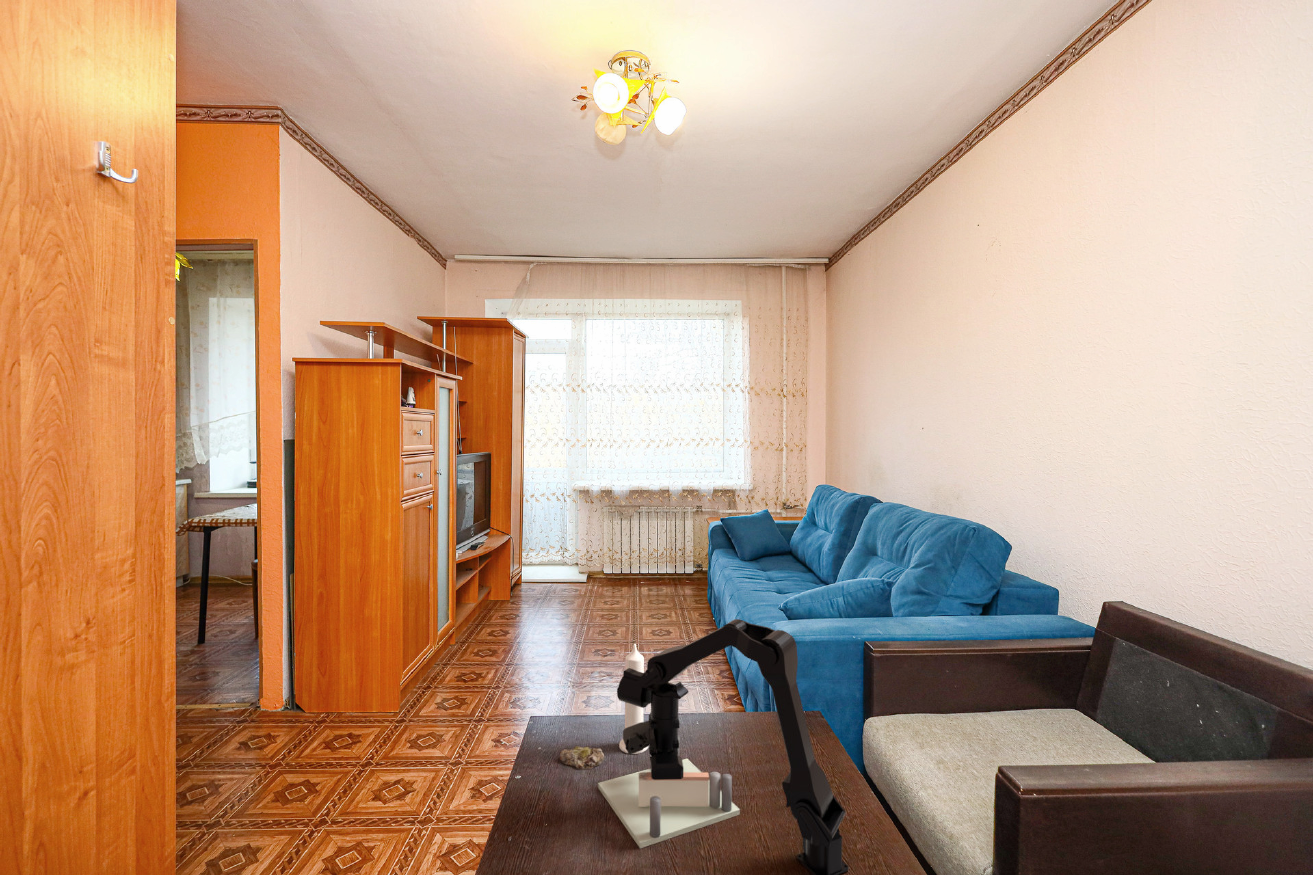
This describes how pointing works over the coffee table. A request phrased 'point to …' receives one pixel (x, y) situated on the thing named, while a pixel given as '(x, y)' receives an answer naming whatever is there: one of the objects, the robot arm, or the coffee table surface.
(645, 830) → the gate base
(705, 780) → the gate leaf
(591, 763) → the mineral rock
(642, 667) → the candle
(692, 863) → the coffee table surface
